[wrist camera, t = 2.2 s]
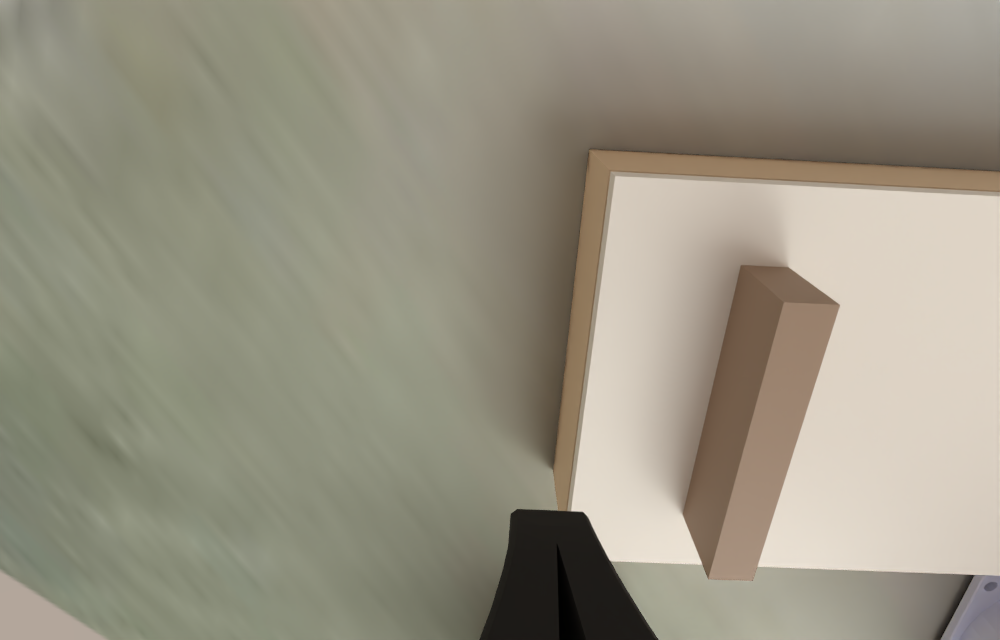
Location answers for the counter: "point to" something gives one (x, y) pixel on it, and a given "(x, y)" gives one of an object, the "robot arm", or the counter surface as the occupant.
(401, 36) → the counter surface
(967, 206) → the box lid
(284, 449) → the counter surface
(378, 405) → the counter surface
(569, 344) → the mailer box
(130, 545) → the counter surface
